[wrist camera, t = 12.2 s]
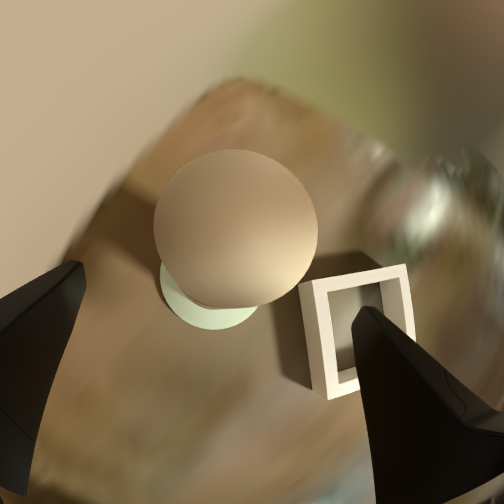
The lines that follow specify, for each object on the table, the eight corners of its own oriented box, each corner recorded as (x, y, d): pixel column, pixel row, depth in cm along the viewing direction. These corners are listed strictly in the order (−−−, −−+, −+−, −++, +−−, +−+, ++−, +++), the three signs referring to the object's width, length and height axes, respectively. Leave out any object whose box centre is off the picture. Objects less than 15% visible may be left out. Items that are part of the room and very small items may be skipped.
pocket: (397, 361, 23) (417, 365, 20) (312, 390, 21) (327, 400, 18) (385, 269, 24) (405, 263, 22) (297, 284, 23) (311, 280, 20)
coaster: (272, 320, 22) (274, 320, 21) (168, 334, 20) (167, 335, 19) (256, 220, 23) (258, 218, 22) (156, 230, 21) (155, 228, 21)
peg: (259, 288, 21) (344, 255, 9) (201, 322, 20) (206, 340, 8) (226, 231, 22) (265, 130, 9) (168, 262, 20) (128, 190, 8)
